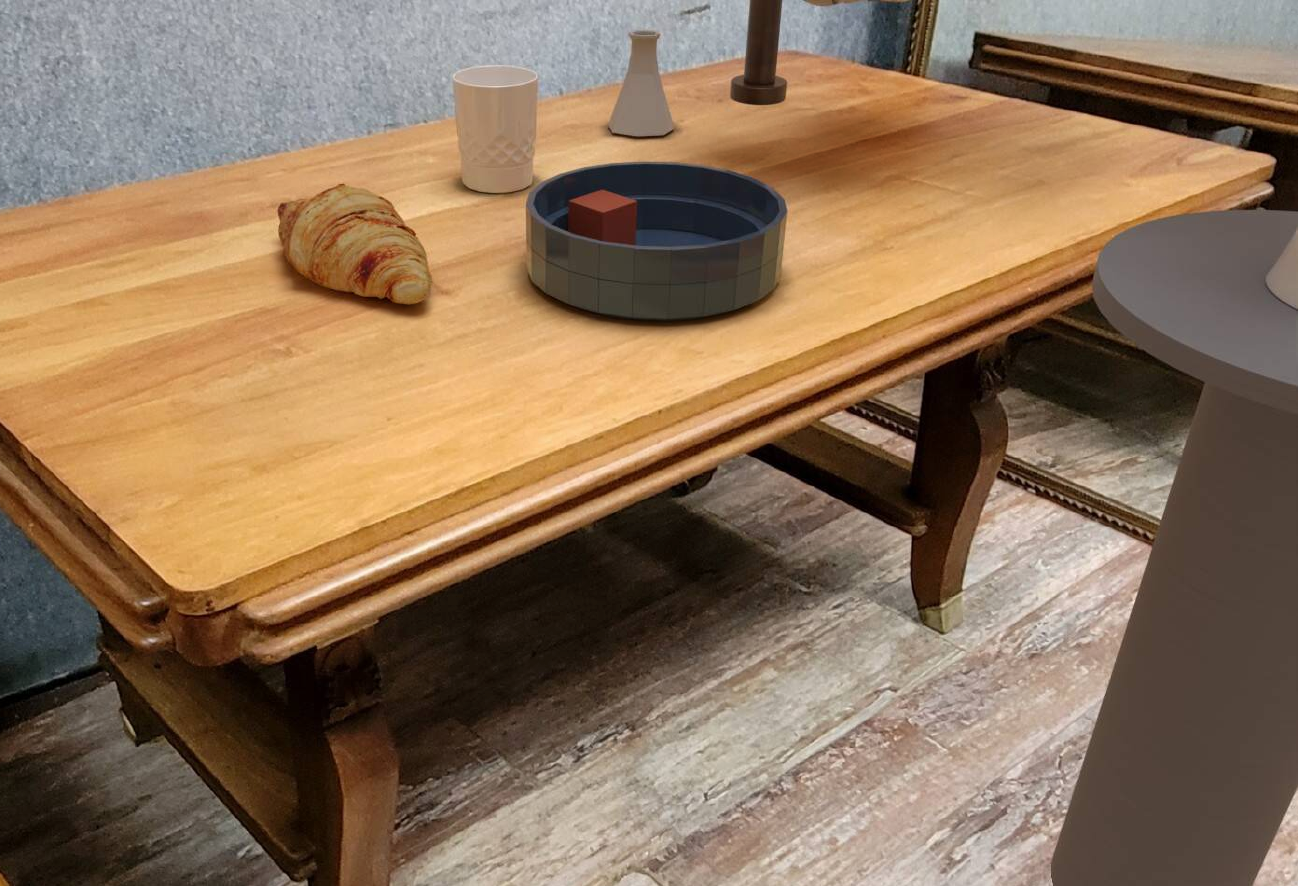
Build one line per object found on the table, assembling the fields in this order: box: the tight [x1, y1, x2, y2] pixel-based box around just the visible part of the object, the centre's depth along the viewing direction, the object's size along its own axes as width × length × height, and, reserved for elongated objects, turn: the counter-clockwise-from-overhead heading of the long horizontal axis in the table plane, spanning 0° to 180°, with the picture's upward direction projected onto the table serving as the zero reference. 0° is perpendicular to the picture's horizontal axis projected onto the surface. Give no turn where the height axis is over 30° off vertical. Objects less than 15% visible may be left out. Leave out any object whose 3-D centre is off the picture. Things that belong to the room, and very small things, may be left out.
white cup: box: [451, 64, 539, 194], centre depth 116 cm, size 8×8×10 cm
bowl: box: [525, 160, 788, 322], centre depth 98 cm, size 20×20×6 cm
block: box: [568, 190, 637, 246], centre depth 102 cm, size 4×4×4 cm
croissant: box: [277, 183, 433, 305], centre depth 99 cm, size 21×10×8 cm, turn 40°
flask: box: [607, 28, 675, 137], centre depth 131 cm, size 7×7×10 cm
